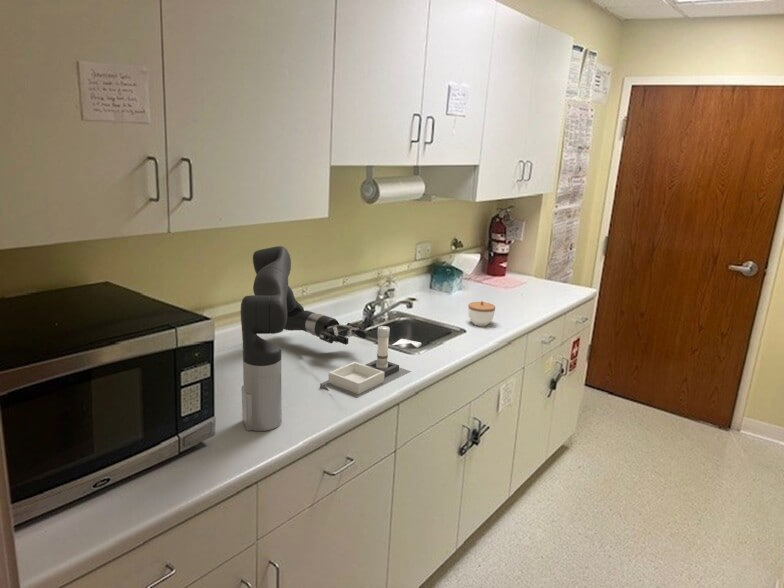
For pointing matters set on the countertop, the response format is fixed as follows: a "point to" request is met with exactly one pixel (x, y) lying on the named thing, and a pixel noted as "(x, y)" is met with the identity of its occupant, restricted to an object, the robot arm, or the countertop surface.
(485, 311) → the lidded jar
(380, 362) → the white capped peg
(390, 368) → the grey board with tray
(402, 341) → the hard drive
